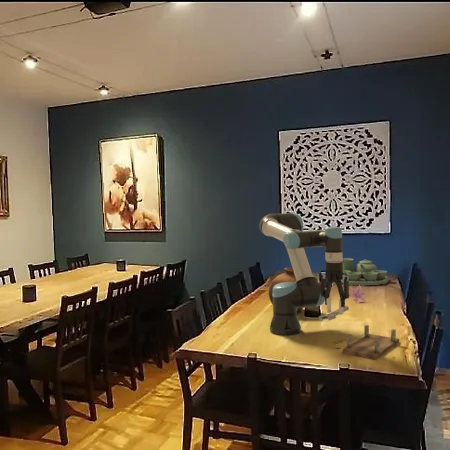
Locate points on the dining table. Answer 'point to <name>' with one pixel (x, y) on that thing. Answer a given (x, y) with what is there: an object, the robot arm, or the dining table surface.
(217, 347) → the dining table surface
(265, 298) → the dining table surface
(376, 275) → the tea set
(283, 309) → the robot arm
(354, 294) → the lily
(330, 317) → the adjustable wrench
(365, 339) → the rack
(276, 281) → the pottery
